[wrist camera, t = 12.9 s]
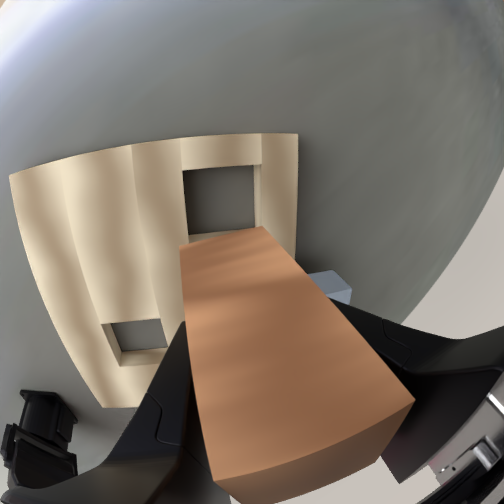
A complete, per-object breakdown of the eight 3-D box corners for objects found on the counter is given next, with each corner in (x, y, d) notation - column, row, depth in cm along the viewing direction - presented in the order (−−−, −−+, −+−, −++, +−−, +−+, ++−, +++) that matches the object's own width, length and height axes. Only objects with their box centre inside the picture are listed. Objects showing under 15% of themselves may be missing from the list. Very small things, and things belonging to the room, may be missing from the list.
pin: (199, 313, 12) (249, 510, 4) (179, 245, 11) (213, 480, 3) (271, 294, 13) (375, 462, 5) (262, 225, 11) (415, 400, 4)
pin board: (104, 393, 24) (102, 407, 22) (22, 170, 14) (8, 175, 12) (278, 371, 29) (284, 384, 27) (286, 133, 18) (298, 134, 17)
